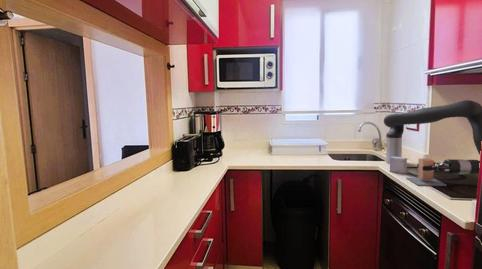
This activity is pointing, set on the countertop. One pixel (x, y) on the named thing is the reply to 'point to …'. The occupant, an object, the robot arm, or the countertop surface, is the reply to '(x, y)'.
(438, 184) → the slate mat
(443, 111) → the robot arm
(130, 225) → the countertop surface
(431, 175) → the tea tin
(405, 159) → the medicine box
